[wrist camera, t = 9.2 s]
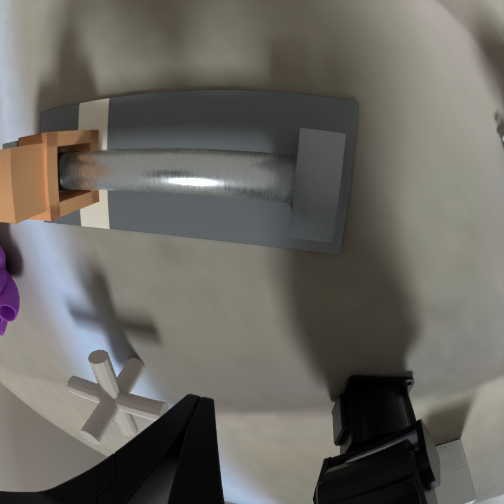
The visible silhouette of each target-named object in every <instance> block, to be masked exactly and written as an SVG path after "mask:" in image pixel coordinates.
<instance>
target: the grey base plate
mask: <svg viewBox="0 0 504 504" xmlns="http://www.w3.org/2000/svg"><path fill="white" fill-rule="evenodd" d="M358 104H359V102H356V101H350V100H344V99H338V98H331V97H323V96H315V95H307V94H297V93H286V92H272V91H252V90H191V91H172V92H159V93H148V94H138V95H129V96H122V97H114V98H107V99H101V100H95V101H89V102H84V103H79V104H74V105H69V106H65V107H60V108H56V109H52V110H48V111H44V112H41V117H40V133H45V132H56V131H74V130H99V139H98V150H115V149H149V148H184V149H218V150H237V151H253V152H266V153H277V154H287V155H297V154H298V142H299V131H300V128H307V129H315V130H323V131H330V132H337V133H344V134H346V136H345V147H344V157H343V166H342V175H341V183H340V191H339V199H338V206H337V213H336V220H335V227H334V233H333V240H332V243H331V242H323V241H315V240H307V239H298V238H290V237H289V236H290V226H291V216H292V206H293V203H284V202H274V201H265V200H254V199H244V198H233V197H221V196H208V195H194V194H179V193H163V192H143V191H118V190H99V202H97V203H95V204H92V205H89V206H87V207H84V208H82V209H79V210H77V211H74V212H72V213H69V214H67V215H65V216H62V217H60V218H57V219H55V220H53V221H44V222H49V223H59V224H69V225H79V226H87V227H96V228H106V229H117V230H126V231H136V232H145V233H154V234H163V235H172V236H181V237H190V238H199V239H208V240H217V241H226V242H235V243H244V244H252V245H261V246H270V247H278V248H287V249H295V250H304V251H312V252H321V253H329V254H337V255H340V251H341V246H342V240H343V234H344V228H345V221H346V215H347V208H348V201H349V194H350V186H351V178H352V170H353V161H354V152H355V142H356V131H357V119H358Z"/></svg>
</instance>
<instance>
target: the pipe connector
mask: <svg viewBox="0 0 504 504" xmlns="http://www.w3.org/2000/svg"><path fill="white" fill-rule="evenodd" d="M88 359H89V362H90V365H91V367H92V370H93V372H94V375H95V377H96V380H97V382H98V384H97V383H94V382H91V381H88V380H85V379H82V378H80V377H77V376H72V377H70V379H69V380H68V385H67V386H68V390H69V391H70V392H71V393H73V394H75V395H78V396H80V397H83V398H86V399H88V400H91V401H94V402H96V403H99V404H98V406H97V407H96V408H95V410H94V411H93V413H92V414H91V416H90V417H89V419H88V420H87V422H86V423H85V425H84V426H83V428H82V429H81V431H80V433H81V435H82V436H83V437H84V438H85V439H86V440H88V441H89V442H91V443H93V444H95V445H99V443H100V442H101V440H102V438H103V437H104V435H105V433H106V432H107V430H108V428H109V427H110V425H111V423H112V422H113V420H114V419H115V421H116V422H117V424H118V426H119V428H120V430H121V432H122V434H123V435H125V436H129V437H131V436H134V435H135V434H136V433H137V431H138V428H137V426H136V423H135V421H134V419H133V417H132V414H133V415H136V416H140V417H143V418H147V419H151V420H154V421H156V420H157V419H158V418H160V417H161V416H162V415H163V414H165V413H166V412H167V411H168V404H167V403H165V402H161V401H157V400H153V399H149V398H145V397H141V396H137V395H133V394H130V392H131V391H132V389H133V388H134V386H135V384H136V383H137V381H138V380H139V378H140V376H141V375H142V373H143V372H144V370H145V365H144V363H143V362H142V361H141V360H139V359H137V358H130V360H129V361H128V362H127V364H126V365H125V367H124V368H123V370H122V371H121V372H120V374H119V375H118V377H116V375H115V372H114V369H113V366H112V363H111V361H110V358H109V355H108V352H106V351H104V350H97V351H93V352H92V353H91V354H90V355H89V357H88Z"/></svg>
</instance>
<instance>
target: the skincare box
mask: <svg viewBox="0 0 504 504" xmlns="http://www.w3.org/2000/svg"><path fill="white" fill-rule="evenodd" d="M436 448H437V451H438V454H439V458H440V486H439V487H437V488H435V493H436V497H437V502H438V504H472V503H473V502H474V501H475V500H476V495H475V491H474V487H473V483H472V479H471V475H470V472H469V468H468V464H467V460H466V456H465V452H464V449H463V445H462V442H461V439H459V440H456V441H452V442H449V443H446V444H442V445H439V446H436Z"/></svg>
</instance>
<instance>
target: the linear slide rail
mask: <svg viewBox="0 0 504 504" xmlns="http://www.w3.org/2000/svg"><path fill="white" fill-rule="evenodd" d="M345 136H346V134H344V133H337V132H330V131H323V130H315V129H307V128H300V131H299V142H298V154H297V155H287V154H277V153H266V152H253V151H237V150H218V149H184V148H149V149H115V150H97V151H82V152H78V151H68V152H61V146H57V171H58V192H62V191H75V190H118V191H143V192H163V193H179V194H194V195H208V196H221V197H233V198H244V199H254V200H265V201H274V202H284V203H293V206H292V216H291V226H290V236H289V237H290V238H298V239H307V240H315V241H323V242H331V243H332V240H333V233H334V227H335V220H336V213H337V206H338V199H339V191H340V183H341V175H342V166H343V157H344V147H345ZM18 143H19V141H14V142H10V143H6V144H3V149H7V148H13V147H18Z"/></svg>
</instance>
